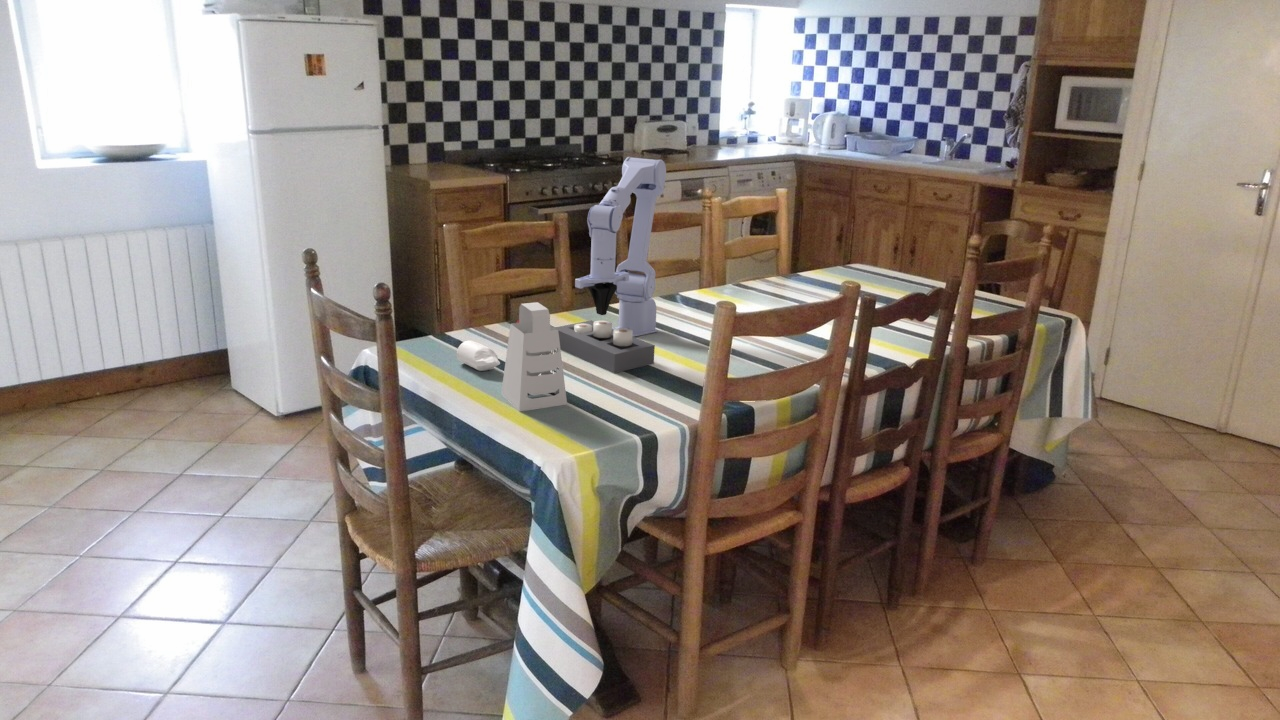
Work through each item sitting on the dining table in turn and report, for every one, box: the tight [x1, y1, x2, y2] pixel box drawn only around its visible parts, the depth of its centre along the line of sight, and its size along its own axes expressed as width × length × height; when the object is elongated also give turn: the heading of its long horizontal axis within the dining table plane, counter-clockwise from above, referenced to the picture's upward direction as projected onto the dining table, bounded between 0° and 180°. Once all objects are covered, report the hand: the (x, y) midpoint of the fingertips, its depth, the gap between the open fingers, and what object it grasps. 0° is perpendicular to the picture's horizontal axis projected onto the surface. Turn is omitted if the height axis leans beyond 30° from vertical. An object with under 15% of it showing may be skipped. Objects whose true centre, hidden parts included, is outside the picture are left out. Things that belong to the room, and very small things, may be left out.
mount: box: [554, 319, 656, 374], centre depth 224 cm, size 12×24×4 cm, turn 41°
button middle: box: [593, 320, 613, 338], centre depth 223 cm, size 4×4×3 cm
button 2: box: [613, 328, 633, 346], centre depth 217 cm, size 4×4×3 cm
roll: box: [456, 339, 501, 372], centre depth 210 cm, size 6×12×6 cm, turn 41°
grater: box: [500, 301, 568, 412], centre depth 192 cm, size 10×10×20 cm
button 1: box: [574, 323, 592, 333], centre depth 229 cm, size 4×4×3 cm
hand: (601, 313), depth 222 cm, fingers closed
